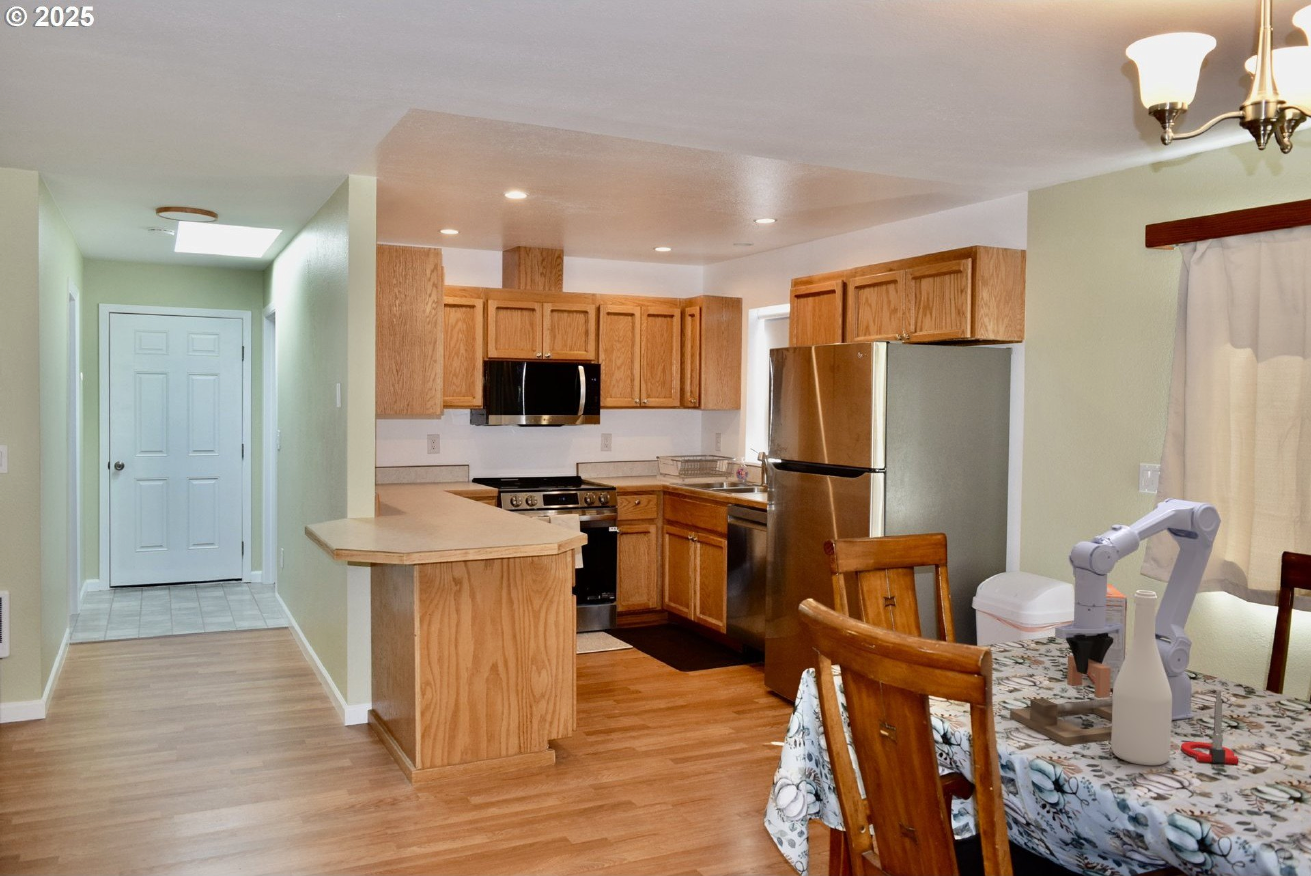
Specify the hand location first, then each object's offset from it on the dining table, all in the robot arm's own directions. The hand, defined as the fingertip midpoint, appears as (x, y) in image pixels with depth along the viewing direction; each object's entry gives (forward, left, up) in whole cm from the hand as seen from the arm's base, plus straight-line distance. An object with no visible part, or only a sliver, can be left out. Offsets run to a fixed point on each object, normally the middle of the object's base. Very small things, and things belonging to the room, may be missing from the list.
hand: (1088, 672), depth 193 cm
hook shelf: (0, 0, -10) cm, 10 cm away
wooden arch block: (0, 0, -4) cm, 4 cm away
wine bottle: (+3, +17, -11) cm, 20 cm away
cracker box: (-24, -23, -11) cm, 35 cm away
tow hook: (-10, +19, -11) cm, 24 cm away
